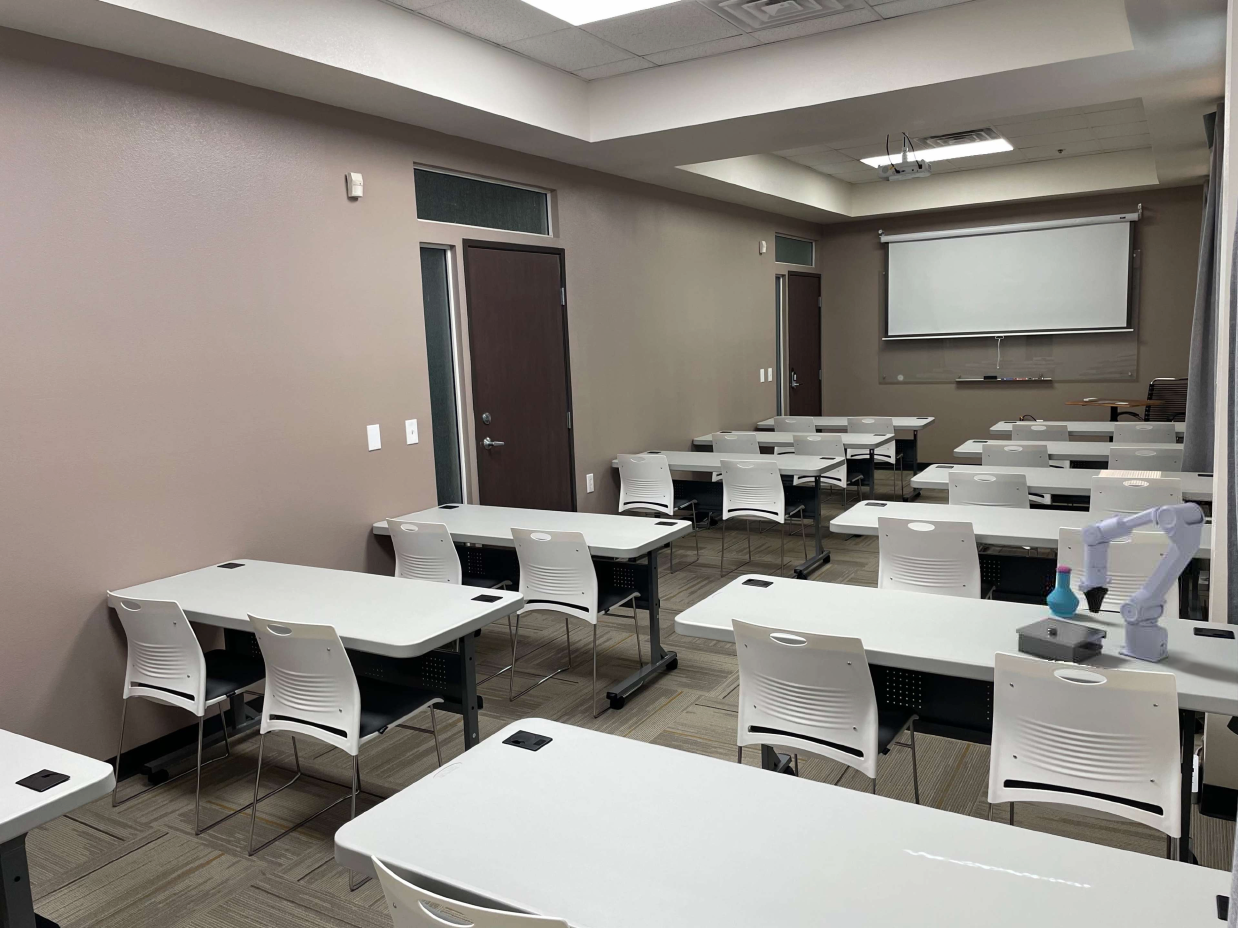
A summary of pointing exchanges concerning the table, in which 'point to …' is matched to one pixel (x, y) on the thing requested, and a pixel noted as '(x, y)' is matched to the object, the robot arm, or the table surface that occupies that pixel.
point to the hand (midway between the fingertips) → (1094, 612)
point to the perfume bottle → (1063, 595)
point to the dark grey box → (1059, 649)
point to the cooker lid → (1061, 632)
